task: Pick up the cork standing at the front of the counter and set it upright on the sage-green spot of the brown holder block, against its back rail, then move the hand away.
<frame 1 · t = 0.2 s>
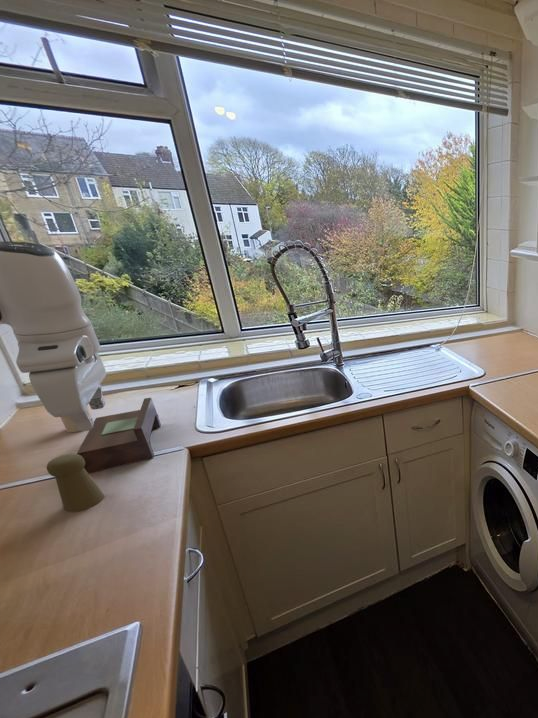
hand: (93, 417, 73), 22 cm above the worktop, tool pointing down, fingers open, 8 cm apart
candle: (81, 428, 112), on the worktop
brown holder block: (127, 446, 104), on the worktop
cork: (85, 502, 85), on the worktop
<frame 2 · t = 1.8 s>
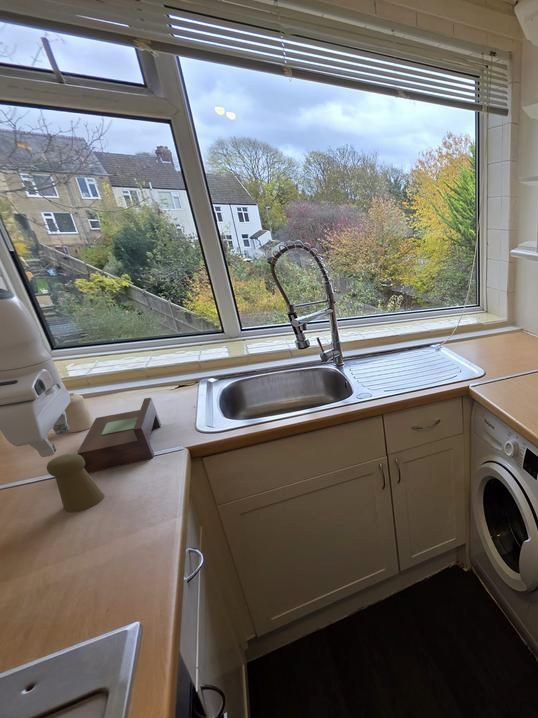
hand: (56, 443, 79), 14 cm above the worktop, tool pointing down, fingers open, 8 cm apart
nothing on the worktop moved.
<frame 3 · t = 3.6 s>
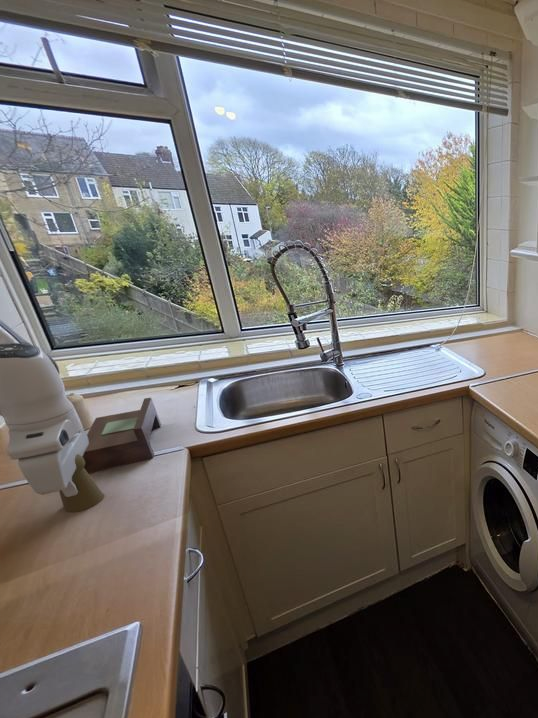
hand: (76, 486, 83), 4 cm above the worktop, tool pointing down, fingers closed on cork, 4 cm apart
cork: (85, 502, 85), on the worktop, touching gripper
everything else where it was.
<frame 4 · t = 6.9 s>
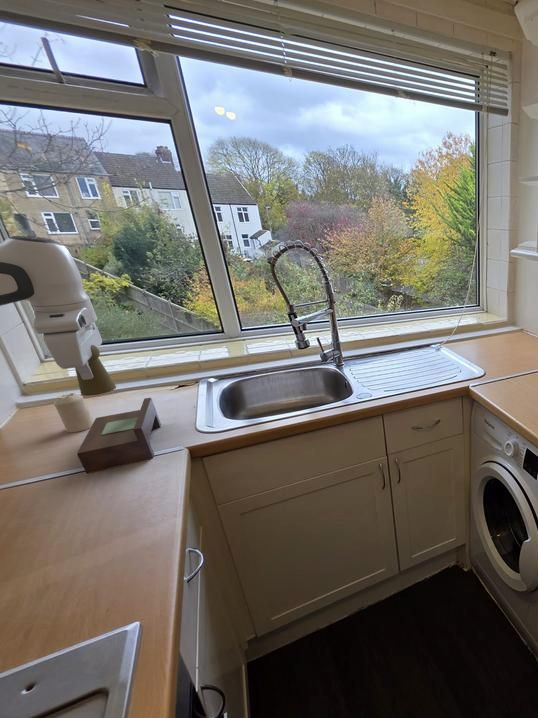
hand: (91, 374, 93), 21 cm above the worktop, tool pointing down, fingers closed on cork, 4 cm apart
cork: (99, 391, 95), point 17 cm above the worktop, touching gripper
everything else where it was.
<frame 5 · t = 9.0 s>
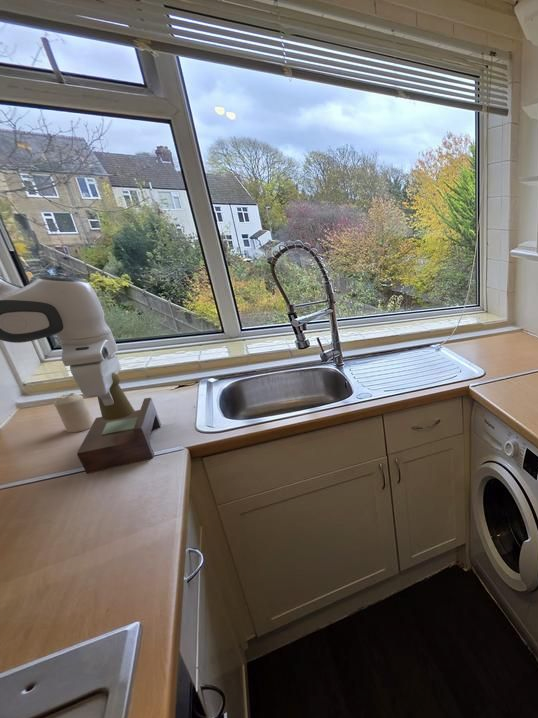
hand: (112, 399, 100), 13 cm above the worktop, tool pointing down, fingers closed on cork, 4 cm apart
cork: (119, 415, 102), point 9 cm above the worktop, touching gripper
everything else where it was.
when the fingers open (10 cm above the worktop, at t = 10.3 s): cork stays where it is, resting on brown holder block.
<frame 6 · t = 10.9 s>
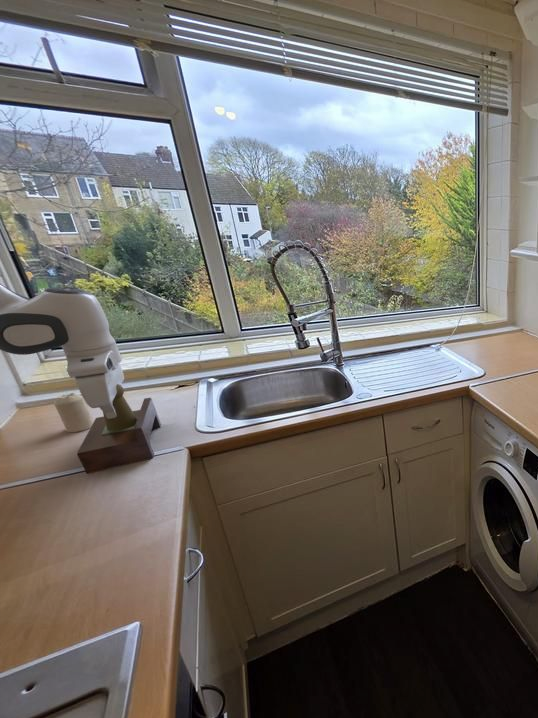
hand: (116, 409, 101), 10 cm above the worktop, tool pointing down, fingers open, 8 cm apart
cork: (123, 425, 103), point 6 cm above the worktop, touching brown holder block
everything else where it was.
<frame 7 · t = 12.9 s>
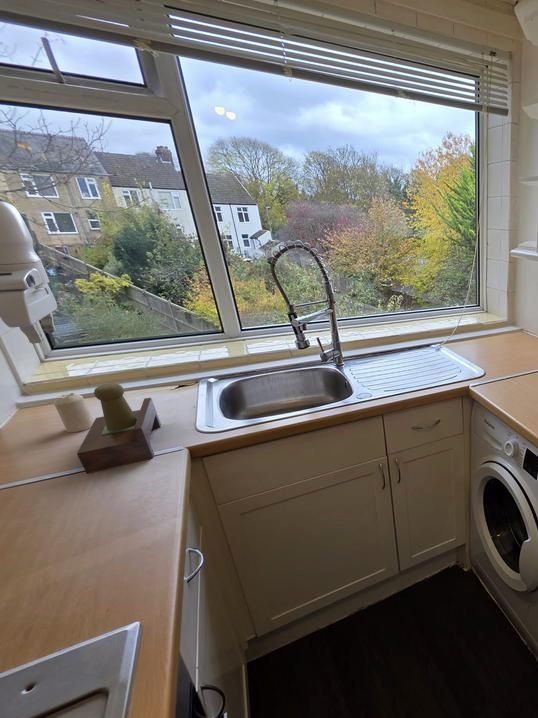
hand: (44, 337, 94), 29 cm above the worktop, tool pointing down, fingers open, 8 cm apart
nothing on the worktop moved.
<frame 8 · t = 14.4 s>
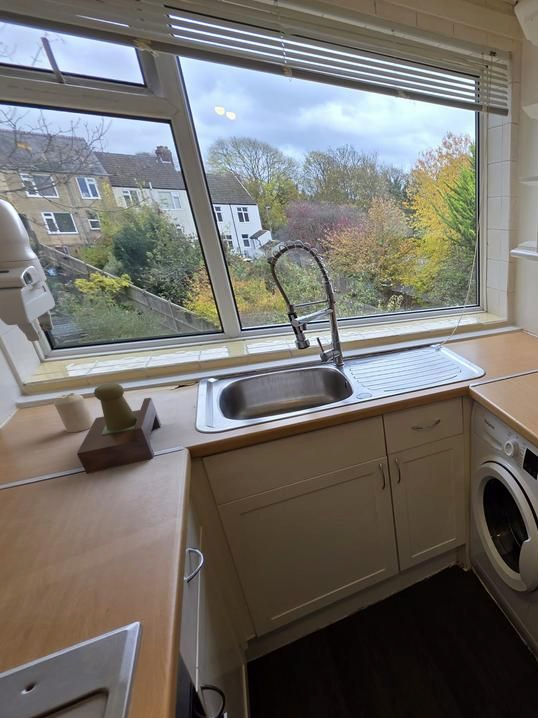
hand: (42, 335, 94), 29 cm above the worktop, tool pointing down, fingers open, 8 cm apart
nothing on the worktop moved.
at the end: cork 0.1 cm from the target spot on the brown holder block, point 5.5 cm above the brown holder block's base; cork tilted 0°; the gripper is holding nothing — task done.
